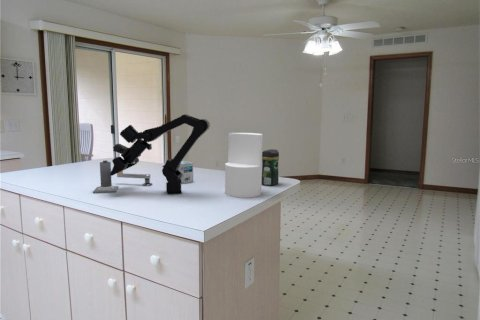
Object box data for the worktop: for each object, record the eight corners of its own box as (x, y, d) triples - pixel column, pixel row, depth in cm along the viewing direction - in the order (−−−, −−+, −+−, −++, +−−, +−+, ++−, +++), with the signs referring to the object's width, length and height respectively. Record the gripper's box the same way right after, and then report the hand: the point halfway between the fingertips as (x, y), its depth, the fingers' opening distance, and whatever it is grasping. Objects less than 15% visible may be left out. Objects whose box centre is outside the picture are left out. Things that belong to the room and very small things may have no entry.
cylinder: (237, 187, 176) (237, 132, 172) (267, 191, 168) (269, 133, 163) (217, 194, 162) (218, 134, 157) (250, 199, 153) (251, 136, 149)
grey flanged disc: (150, 183, 182) (149, 177, 181) (154, 185, 178) (153, 178, 177) (140, 184, 179) (140, 178, 178) (144, 186, 175) (144, 179, 174)
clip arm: (151, 177, 179) (151, 172, 178) (148, 178, 176) (148, 173, 175) (119, 176, 181) (119, 170, 181) (116, 177, 178) (116, 171, 178)
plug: (114, 187, 168) (113, 160, 166) (109, 189, 163) (107, 161, 161) (103, 186, 169) (102, 159, 167) (97, 189, 163) (96, 161, 161)
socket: (118, 187, 172) (118, 185, 172) (115, 192, 162) (115, 190, 162) (97, 188, 170) (97, 186, 170) (93, 193, 160) (92, 191, 160)
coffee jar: (267, 181, 190) (268, 148, 187) (280, 183, 186) (281, 149, 183) (258, 184, 182) (259, 149, 179) (272, 186, 178) (273, 151, 175)
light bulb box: (193, 182, 187) (193, 162, 185) (183, 183, 182) (183, 163, 180) (181, 179, 194) (181, 160, 192) (171, 180, 189) (171, 161, 188)
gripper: (131, 136, 171) (111, 158, 173) (115, 139, 152) (92, 164, 155) (147, 152, 171) (127, 173, 174) (133, 157, 153) (111, 181, 155)
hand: (115, 173), depth 164 cm, fingers open, 9 cm apart
